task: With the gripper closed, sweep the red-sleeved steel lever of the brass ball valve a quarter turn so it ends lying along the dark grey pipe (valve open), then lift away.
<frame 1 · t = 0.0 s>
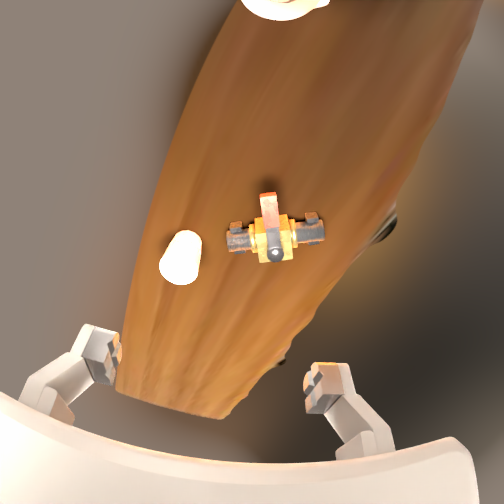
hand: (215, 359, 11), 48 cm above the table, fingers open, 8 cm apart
white cup: (187, 242, 64), on the table
lever: (272, 229, 52), point 9 cm above the table, hinge at 90.0°
valve: (272, 230, 63), on the table
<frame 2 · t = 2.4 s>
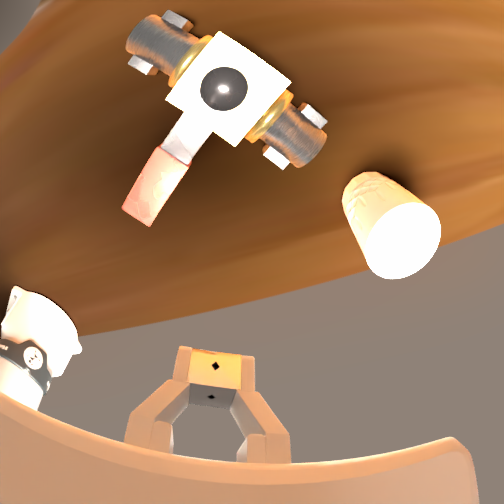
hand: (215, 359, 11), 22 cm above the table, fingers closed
white cup: (367, 197, 31), on the table
lever: (181, 146, 19), point 9 cm above the table, hinge at 90.0°
valve: (232, 87, 25), on the table
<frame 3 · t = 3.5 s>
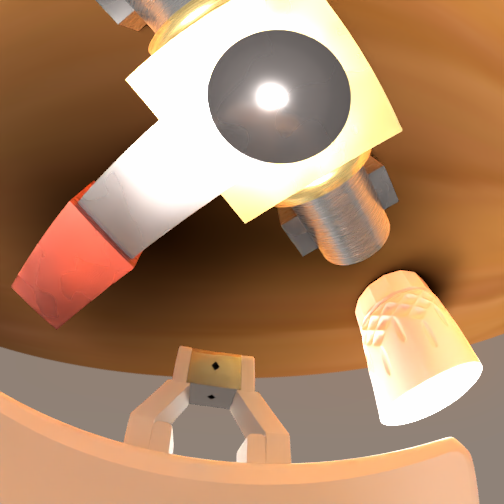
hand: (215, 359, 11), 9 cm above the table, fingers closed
white cup: (389, 298, 23), on the table
lever: (127, 207, 8), point 9 cm above the table, hinge at 90.0°
valve: (261, 88, 14), on the table
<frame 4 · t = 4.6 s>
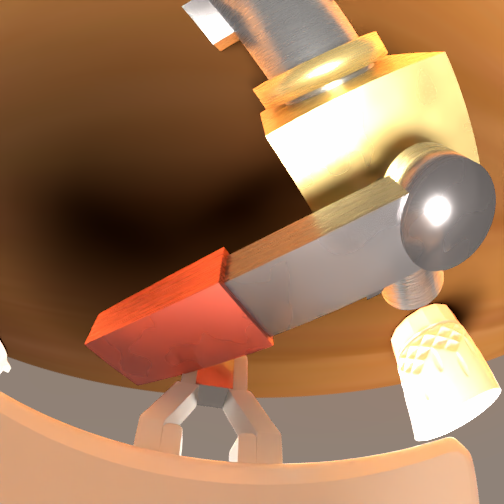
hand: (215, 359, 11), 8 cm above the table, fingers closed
white cup: (421, 327, 23), on the table
lever: (273, 286, 8), point 9 cm above the table, hinge at 87.8°, touching gripper
valve: (347, 136, 14), on the table
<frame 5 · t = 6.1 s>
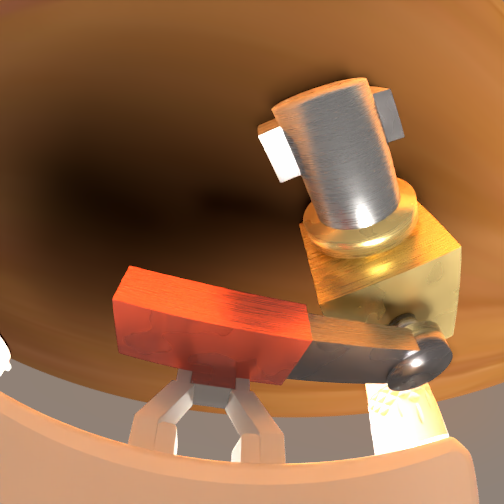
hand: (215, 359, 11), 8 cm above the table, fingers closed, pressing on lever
white cup: (391, 374, 28), on the table
lever: (313, 349, 10), point 9 cm above the table, hinge at 49.3°, touching gripper
valve: (363, 247, 18), on the table
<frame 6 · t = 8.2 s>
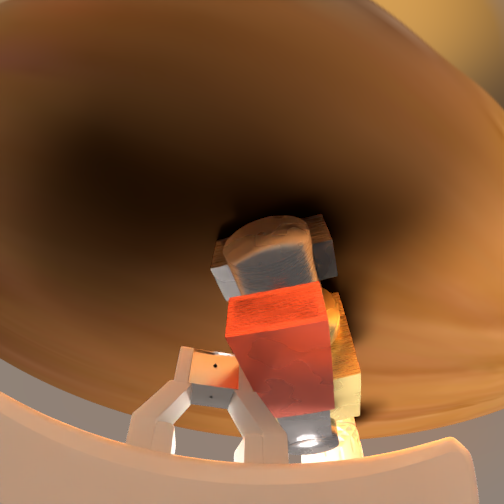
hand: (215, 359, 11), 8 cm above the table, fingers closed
white cup: (327, 415, 32), on the table
lever: (302, 405, 12), point 9 cm above the table, hinge at -2.6°, touching gripper
valve: (300, 332, 22), on the table
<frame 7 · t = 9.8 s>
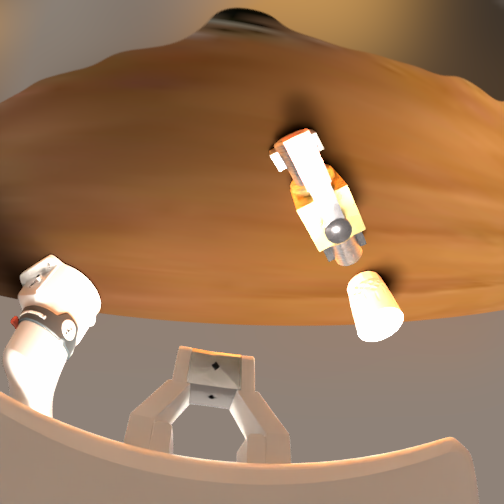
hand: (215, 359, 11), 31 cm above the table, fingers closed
white cup: (363, 284, 49), on the table
lever: (321, 190, 30), point 9 cm above the table, hinge at -2.7°
valve: (321, 198, 40), on the table
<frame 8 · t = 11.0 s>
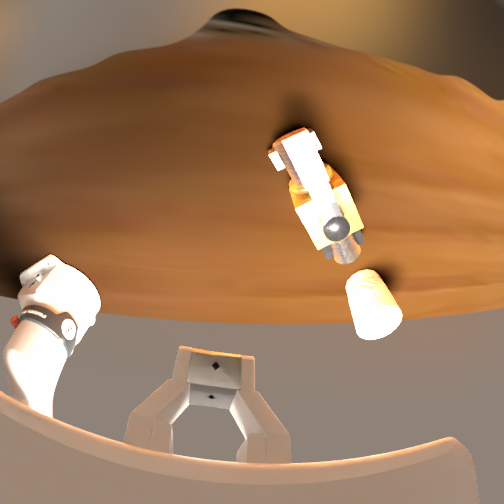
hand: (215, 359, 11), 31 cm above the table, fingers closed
white cup: (362, 282, 49), on the table
lever: (319, 189, 30), point 9 cm above the table, hinge at -2.7°
valve: (320, 196, 40), on the table
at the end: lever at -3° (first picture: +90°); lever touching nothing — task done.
